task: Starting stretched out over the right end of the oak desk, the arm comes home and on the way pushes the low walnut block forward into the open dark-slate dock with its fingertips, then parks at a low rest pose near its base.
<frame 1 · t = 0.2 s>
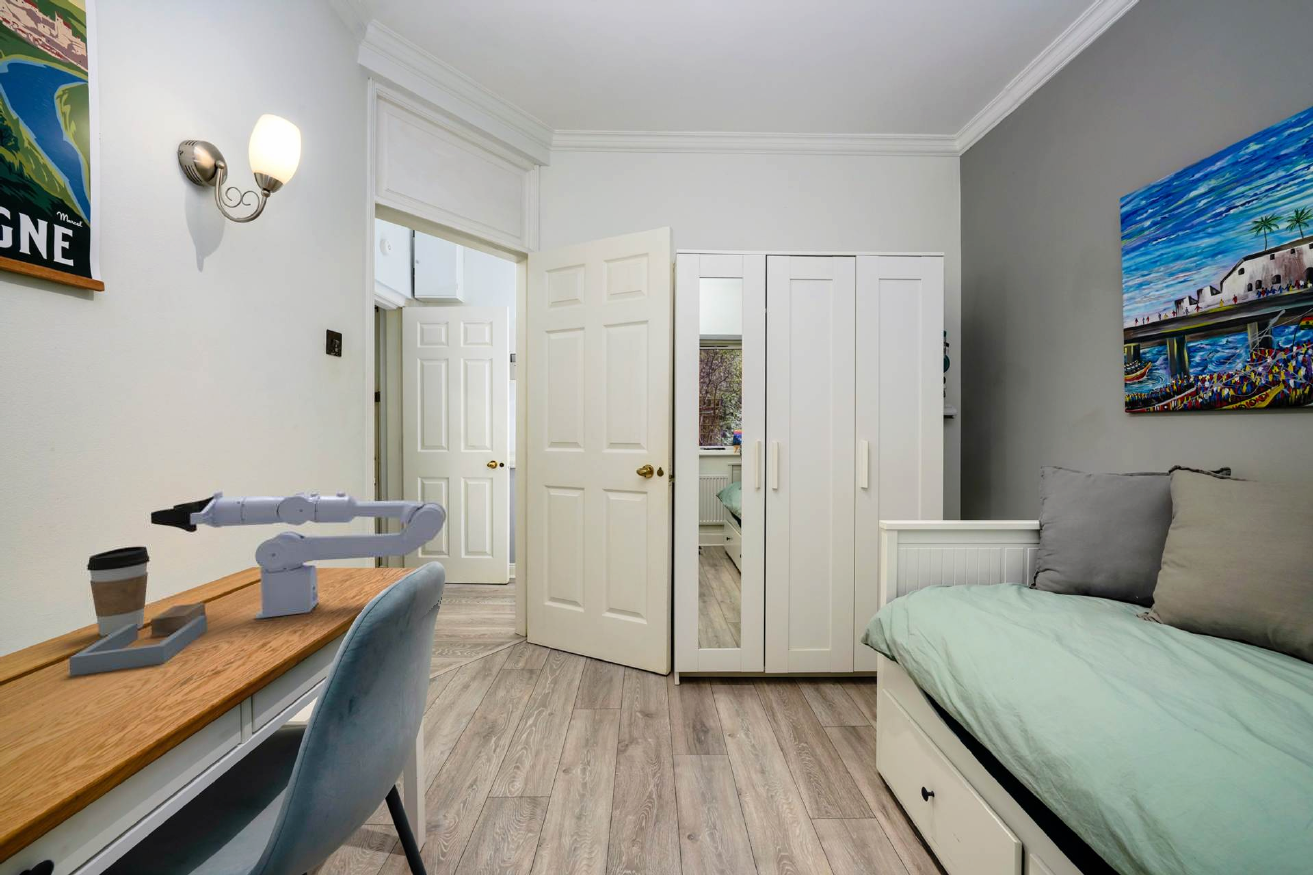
hand: (163, 514, 104), 21 cm above the table, tool horizontal, fingers open, 7 cm apart
coffee cup: (121, 631, 102), on the table
slate dock: (146, 649, 91), on the table
walnut block: (179, 628, 102), on the table
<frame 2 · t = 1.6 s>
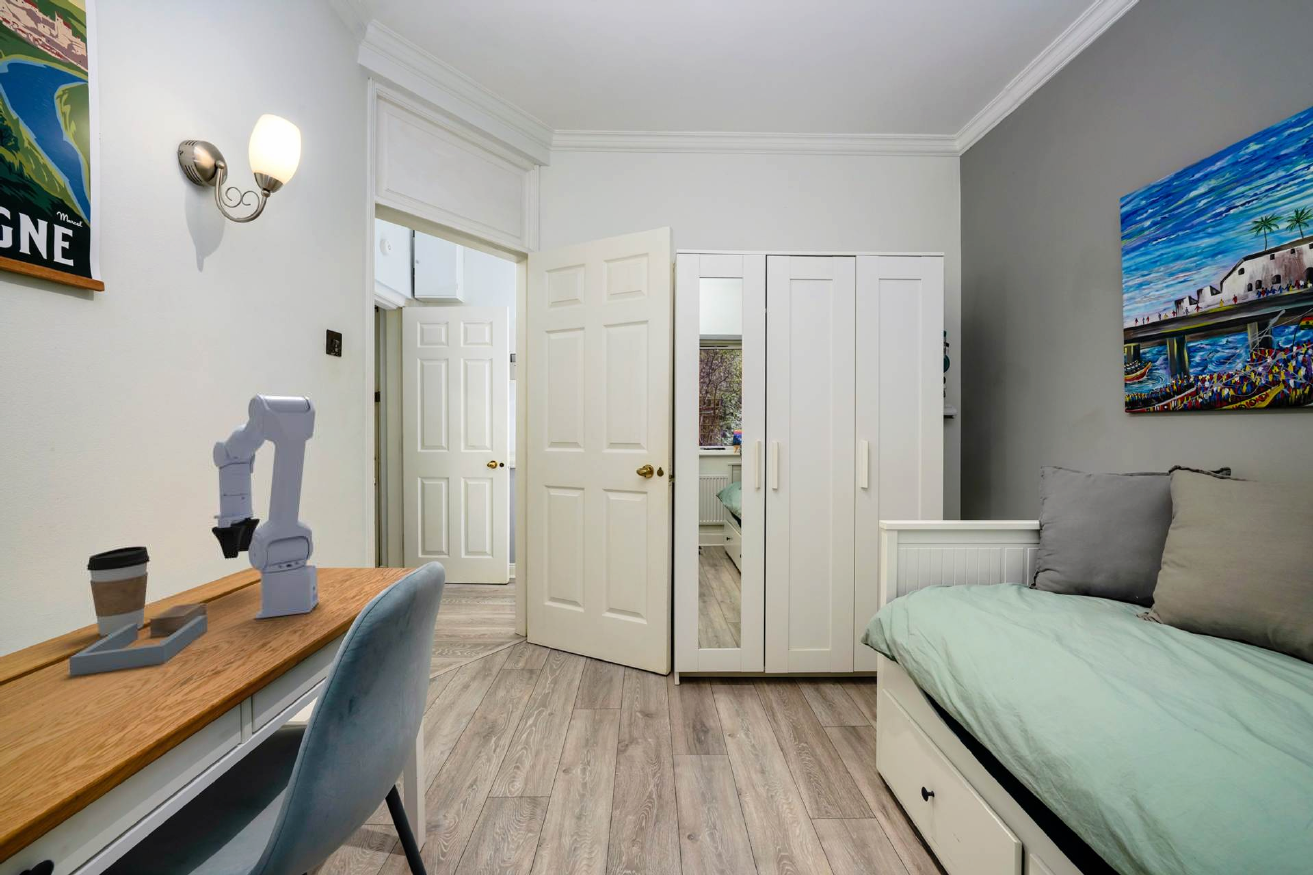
hand: (237, 554, 122), 9 cm above the table, tool pointing down, fingers open, 7 cm apart
nothing on the table moved.
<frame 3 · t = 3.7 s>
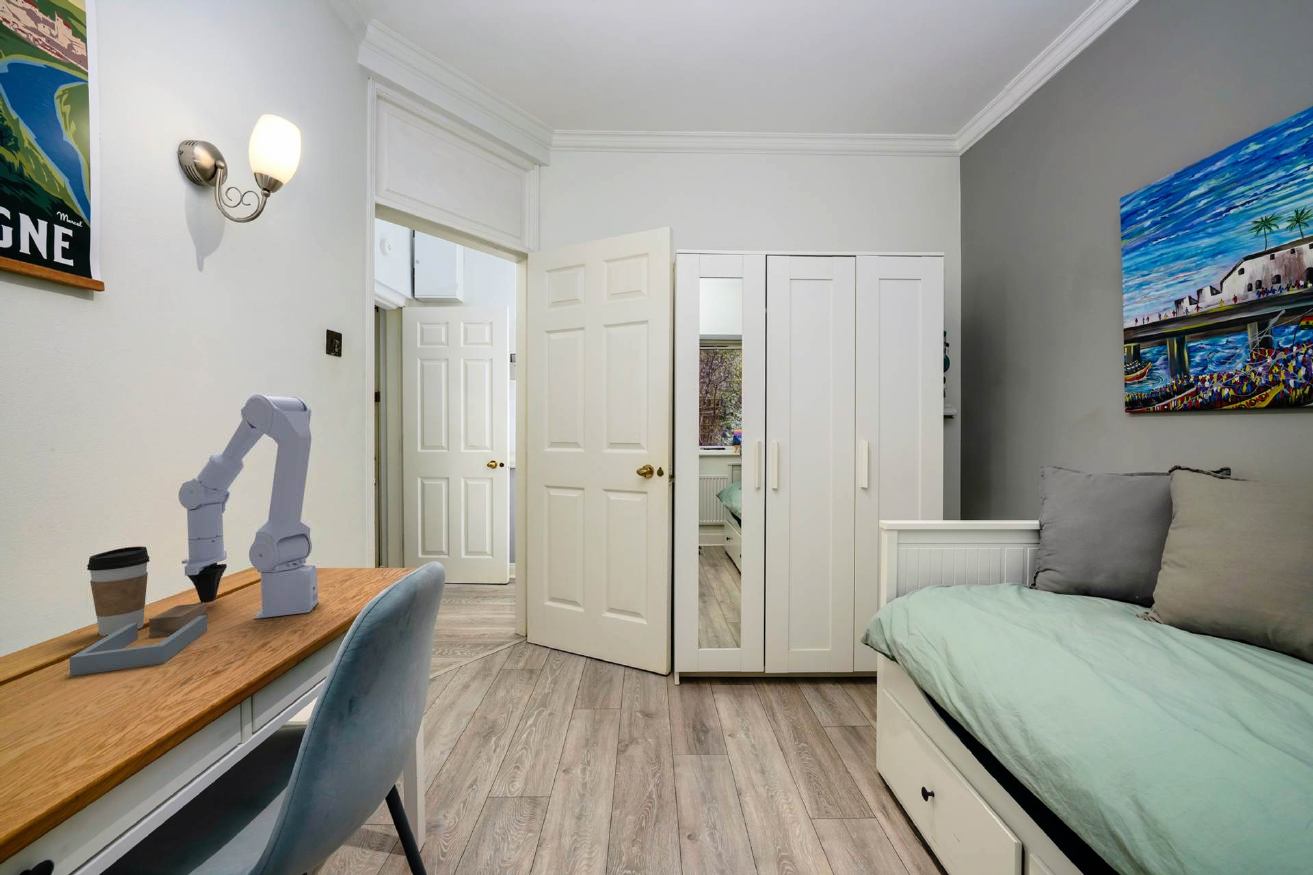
hand: (208, 601, 114), 1 cm above the table, tool pointing down, fingers closed
nothing on the table moved.
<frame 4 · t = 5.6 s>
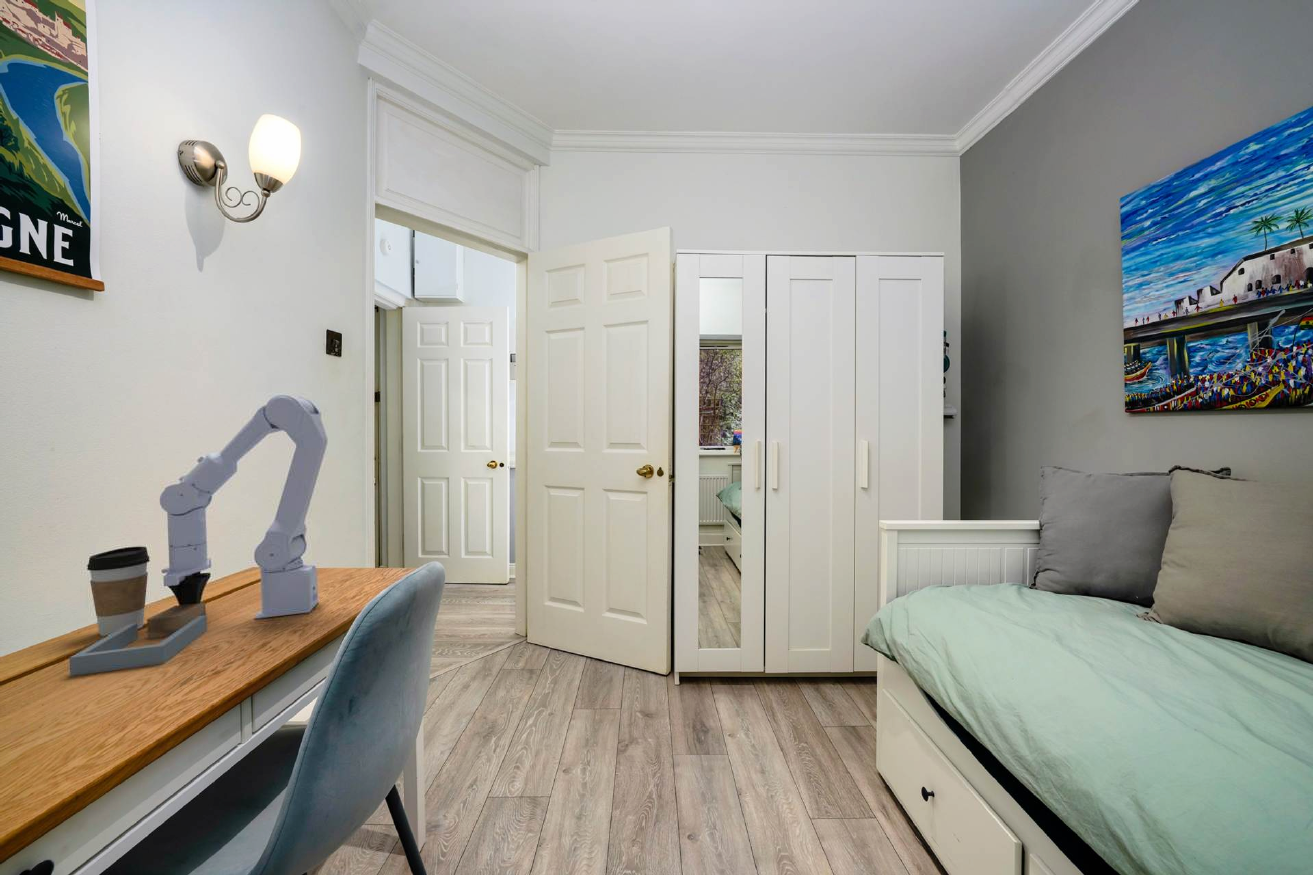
hand: (190, 612, 106), 1 cm above the table, tool pointing down, fingers closed
walnut block: (178, 629, 101), on the table
everything else where it was.
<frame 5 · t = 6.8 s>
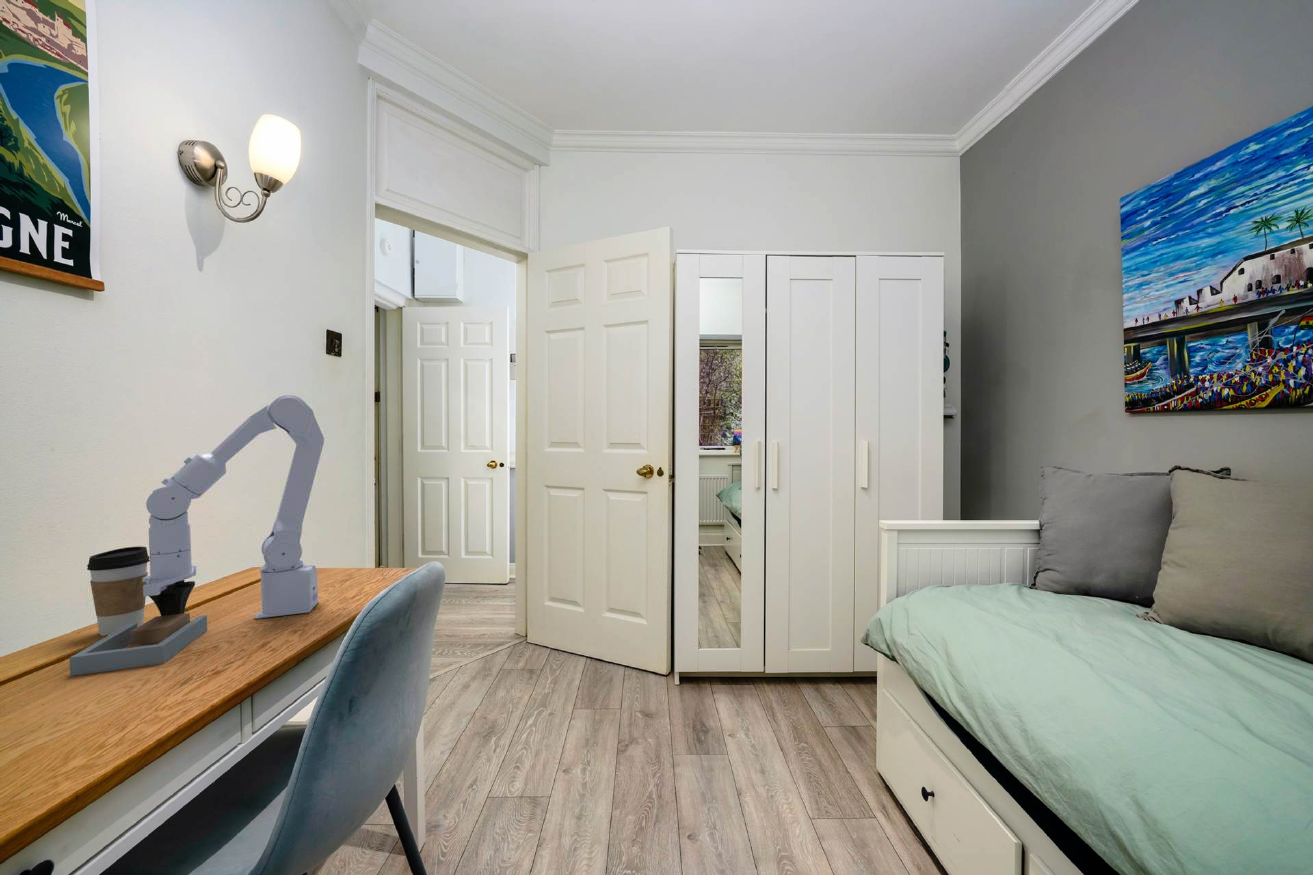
hand: (173, 624, 100), 1 cm above the table, tool pointing down, fingers closed
walnut block: (162, 641, 95), on the table, touching gripper
everything else where it was.
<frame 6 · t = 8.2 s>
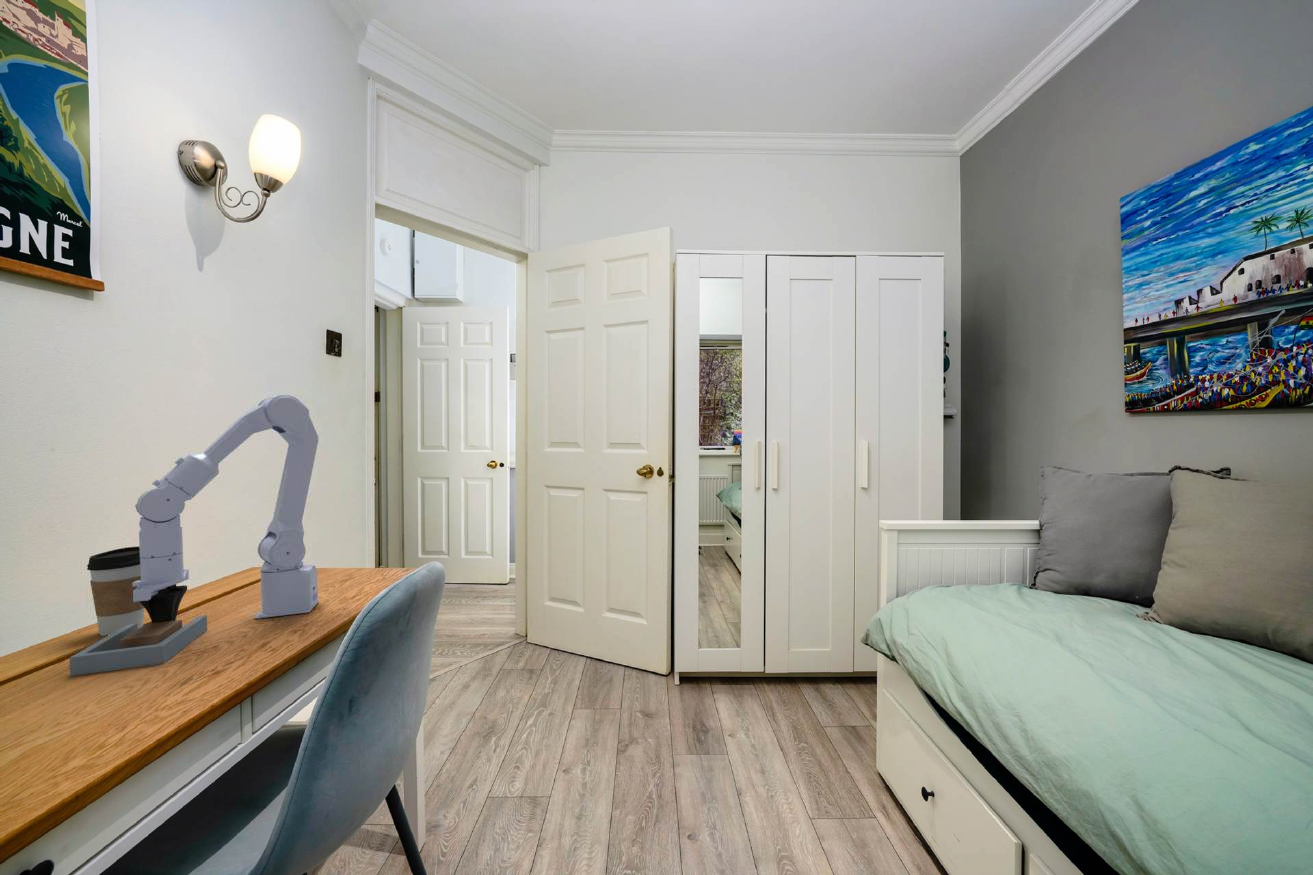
hand: (164, 629, 97), 1 cm above the table, tool pointing down, fingers closed
walnut block: (153, 649, 92), on the table
everything else where it was.
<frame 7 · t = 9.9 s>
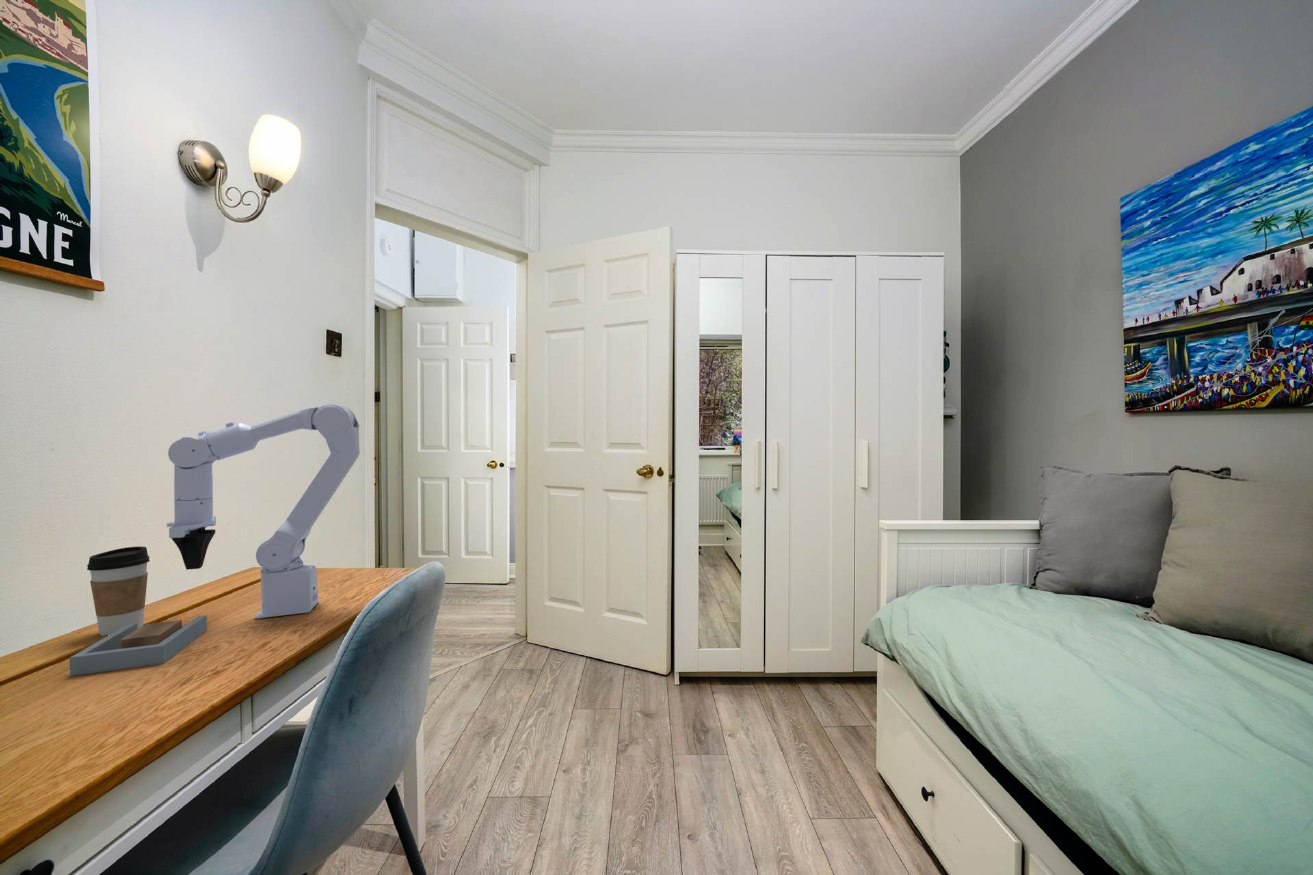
hand: (194, 568, 105), 10 cm above the table, tool pointing down, fingers closed
nothing on the table moved.
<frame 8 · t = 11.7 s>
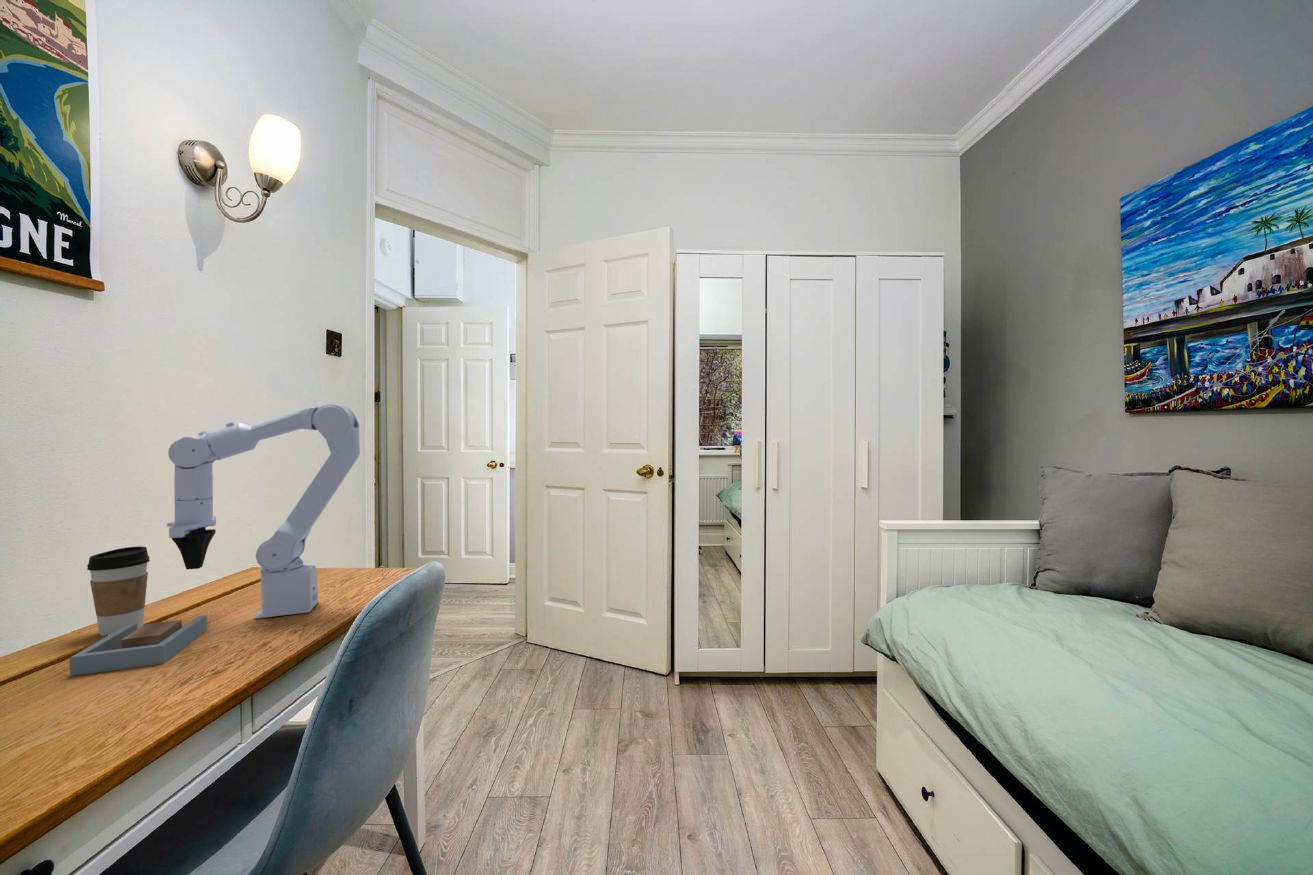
hand: (194, 568, 105), 10 cm above the table, tool pointing down, fingers closed
nothing on the table moved.
at the end: walnut block inside the target area (1.7 cm from its centre), on the table; walnut block tilted 0°; walnut block moved 10.7 cm from its start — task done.
